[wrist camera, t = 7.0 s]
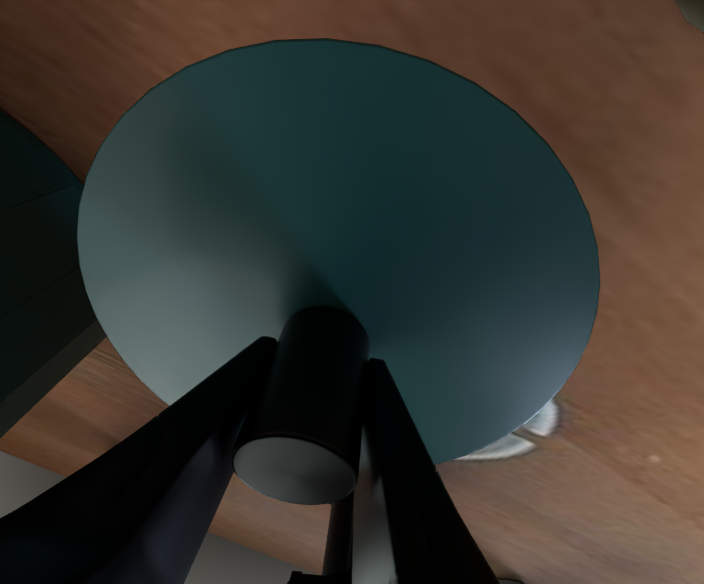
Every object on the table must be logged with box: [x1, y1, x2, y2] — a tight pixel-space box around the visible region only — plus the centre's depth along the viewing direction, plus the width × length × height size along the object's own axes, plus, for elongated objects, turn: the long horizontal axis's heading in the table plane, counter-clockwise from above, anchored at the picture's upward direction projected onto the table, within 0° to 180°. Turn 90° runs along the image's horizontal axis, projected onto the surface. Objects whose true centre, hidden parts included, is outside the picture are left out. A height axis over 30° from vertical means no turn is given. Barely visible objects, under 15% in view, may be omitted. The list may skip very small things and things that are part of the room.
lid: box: [77, 38, 600, 505], centre depth 9 cm, size 14×14×5 cm
